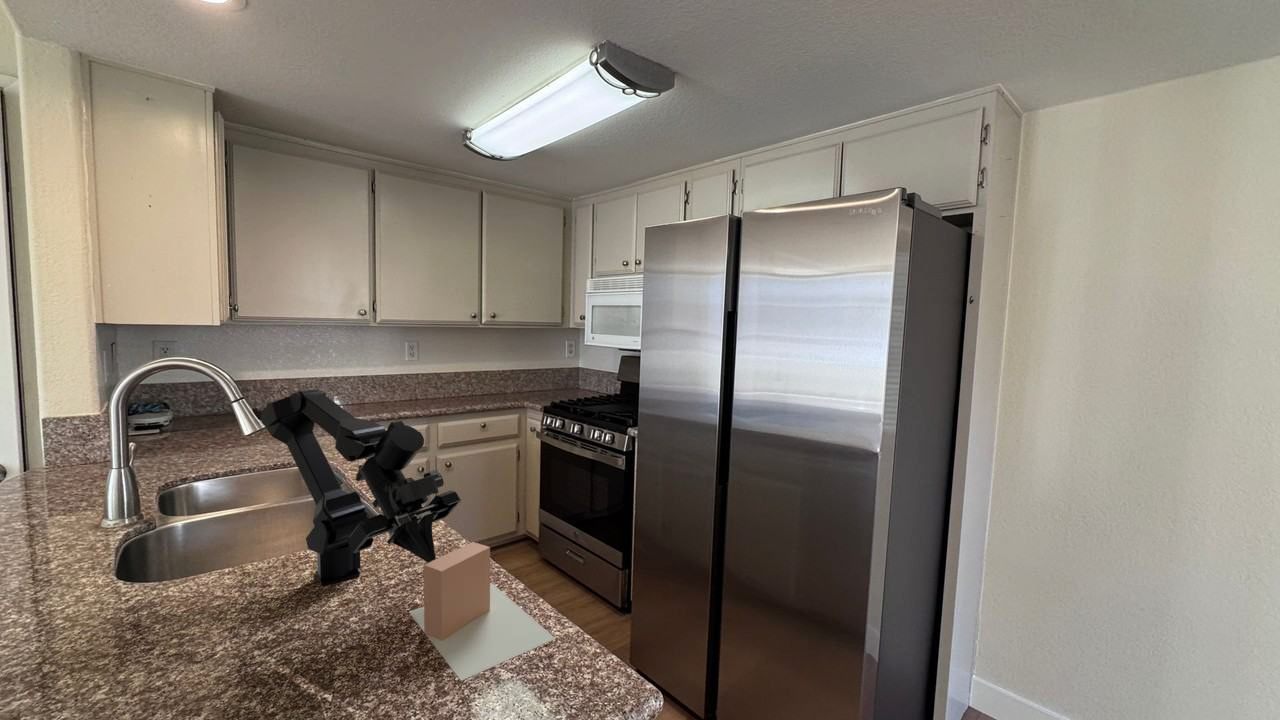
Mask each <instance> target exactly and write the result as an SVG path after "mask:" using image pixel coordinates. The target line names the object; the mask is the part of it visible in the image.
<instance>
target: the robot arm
mask: <svg viewBox="0 0 1280 720" xmlns="http://www.w3.org/2000/svg"><path fill="white" fill-rule="evenodd" d="M260 420H261V421H260V422H261V423H262V424H263V426H264V427H265V428H266V430H267V432H268V433H269V434H270V436H271V437H272V438H273V439H276V440H278V441H279V442H281V443H283V444H284V445H286V447H287V448H288V450H289V453H290V455H291V456H292V459H293V461H294V462H295V465H296V467H297V469H298V471H299V472H300V475H301V478H303V481H304V483H305V485H306V486H307V489H308V491H309V493H310V496H311V497H312V499H313V501H314V504H315V509H314V515H313V517H312V523H313V525H314V527H313V528H312V530H311V531H310V532H309V533H308V534H307V536H306V538H305V541H306V545H307V549H308V550H309V551H312V552H314V553H316V558H317V559H316V563H317V569H316V570H315V575H316V578H317V580H318V582H319V583H320V585H321V586H326V585H329V584H333V583H337V582H342V581H346V580H349V579H352V578H356V577H359V576H360V575H361V572H360V571H359V570H361V569H360V568H361V551H363V550H366V549H369V548H371V547H372V546H373V542H374V538H375V537H377V536H381V535H383V534H386V533H388V536H389V537H390V538H389V539H388V540H387V542H386V543H387V544H388V545H392V544H393V545H395V546H398V548H399V547H400V548H401V549H403V550H406V551H408V552H410V553H412V554H413V555H415V556H416V557H418V558H420V559H422V560H423V561H425V562H426V563H429V562H431V561H433V560H436V559H437V558H436V551H435V550H436V549H435V546H434V539H433V537H434V536H433V523H435V522H438V521H440V520H443V519H445V518H447V517H448V516H450V514H451V513H452V512H453V511H454V510H455V508H457V506H458V505H460V503H461V502H462V500H461V498H460V496H459V494H458V493H457V491H454V490H448V491H446V492H443V493H442V492H441V493H440V492H439V488H441V487H443V486H444V484H445V481H444V479H443V476H442V475H441V473H440V472H439V470H438V469H433V470H429V471H428V472H425V473H423V477H422V478H418V479H414V478H412V477H406V476H405V474H404V472H403V471H402V470H404V469H406V468H407V467H408V466H409V464H410V463H411V462H412V461H413V459H414V458H415V457H416V455H417V454H418V453H419V452H420V450H421V449H422V448H423V446H424V445H425V438H424V436H423V434H422V432H420V431H419V430H417V429H416V428H415V427H413V426H410V425H407V424H406V425H405V424H404V422H403V420H396V421H391V422H390V423H389V425H388V426H387V429H385V427H384V426H383V425H381V424H379V423H377V422H374V421H372V420H368V419H367V420H366V419H361V418H357V417H355V416H354V415H352V414H351V413H350V412H348V411H347V410H346V409H344V408H343V407H342V406H340V405H339V404H337V403H336V402H335V401H334V400H332V399H331V398H330V397H328V396H327V395H326V392H325V391H324V390H322V389H315V388H314V389H307V390H306V389H305V390H298V391H296V392H293V393H292V394H290V395H288V396H287V397H285V398H281V399H279V400H275V401H271V402H269V403H267V405H266V406H265V407H264V408H263V409H262V410H261V413H260ZM315 425H318V427H320V428H321V429H323V431H325V432H326V433H327V434H328V435H330V436H331V437H332V438H333V439H334V440H335V449H336V451H337V452H339V454H340V455H341V456H342V457H343V459H345V461H348V462H357V461H359V460H364V459H365V462H364V463H363V464H360V465H358V469H357V470H358V471H357V472H356V475H355V480H356V482H362V481H364V482H365V484H366V485H367V487H368V489H369V491H370V492H371V494H372V496H373V497H374V500H373V501H372V503H371V504H372V506H373V508H374V509H376V508H379V509H380V510H381V512H382V514H377V515H374V516H371V517H370V515H369V512H368V511H367V510H366V509H367V506H366V505H364V503H363V500H362V499H361V495H360V494H359V493H358V492H357V491H352V492H347V491H345V490H344V489H343V488H342V486H341V484H340V482H339V480H338V478H337V476H336V475H335V472H334V471H333V469H332V467H331V464H330V463H329V461H328V459H327V457H326V454H325V453H324V451H323V449H322V447H321V445H320V443H319V441H318V439H317V437H316V436H315V434H314V428H315ZM439 493H440V494H439ZM436 494H437V495H436ZM430 495H435V496H434V497H433V498H432V499H431V501H430V502H429V503H428V504H427V505H425V506H423V504H426V502H427V501H428V500H429V498H428V497H429V496H430Z"/></svg>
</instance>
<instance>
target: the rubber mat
mask: <svg viewBox="0 0 1280 720" xmlns="http://www.w3.org/2000/svg"><path fill="white" fill-rule="evenodd" d="M408 613H409V614H410V615H411V617H412V618H413V619H414V621H415V622H416V623H417V625H418V626H419V628H420V629H421V630H422V632H424V606H422V607H419V608H415V609H412V610H410V611H408ZM425 635H426V638H428V640H430V642H431V643H432V645H433V646H434V647H435V649H436V650H437V651H438V652H439V654H440V655H441V656H442V658H443V659H444V660H445V662H446V663H447V664H448V666H449V667H450V668H451V670H452V671H453V672H454V674H455V675H456V676H457V678H458V679H459V680H460V682H463V681H464V680H467V679H469V678H471V677H473V676H476V675H478V674H480V673H483V672H485V671H486V670H489V669H491V668H494V667H496V666H498V665H500V664H502V663H505V662H507V661H509V660H511V659H513V658H516V657H517V656H520V655H523V654H525V653H527V652H529V651H532V650H533V649H536V648H538V647H540V646H542V645H545V644H547V643H549V642H552V641H553V640H556V637H554V635H552V634H551V633H550V632H549V631H548V630H547V629H545V628H544V627H543V626H542V625H541V624H540V623H538V622H537V620H535V619H534V618H533V617H531V615H529V614H528V613H527V612H526V611H524V609H523V608H521V607H520V606H519V605H518V604H517V603H516V602H514V600H512V599H511V598H510V597H509V596H508V595H506V594H505V593H504V592H503V591H502V590H500V589H499V588H498V587H497V586H496V585H495V584H494V583H490V610H489V611H488V612H486V613H485V614H483V615H482V616H480V617H479V618H477V619H476V620H474V621H472V622H471V623H469V624H468V625H466V626H465V627H463V628H462V629H460V630H458V631H457V632H455V633H454V634H452V635H451V636H449V637H448V638H446V639H445V640H443V641H441V640H439V639H436V638H434V637H432V636H430V635H427V634H425Z"/></svg>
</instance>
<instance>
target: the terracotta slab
mask: <svg viewBox="0 0 1280 720" xmlns="http://www.w3.org/2000/svg"><path fill="white" fill-rule="evenodd" d="M490 584H491V547H490V546H487V545H485V544H481V543H478V542H475V541H472V542H470V543H468V544H465V545H464V546H461V547H459V548H457V549H454V550H453V551H451V552H449V553H447V554H445V555H443V556H440V557H438V558H436V559H435V560H433V561H431V562H429V563H428V562H426V564H423V607H424V631H423V634H425V635H426V634H427V635H430V636H432V637H434V638H436V639H439V640H441V641H443V640H445V639H446V638H448V637H449V636H451V635H452V634H454V633H455V632H457V631H458V630H460V629H462V628H463V627H465V626H466V625H468V624H469V623H471V622H472V621H474V620H476V619H477V618H479V617H480V616H482V615H483V614H485V613H486V612H488V611H489V610H490ZM427 635H426V636H427Z"/></svg>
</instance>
